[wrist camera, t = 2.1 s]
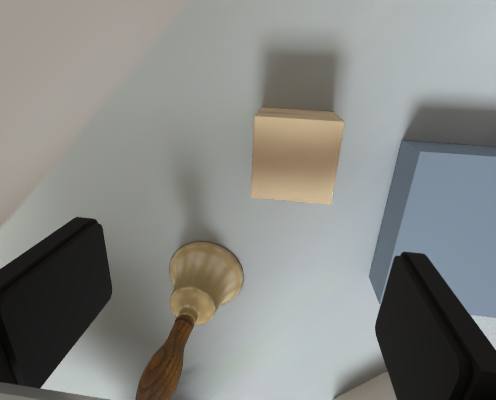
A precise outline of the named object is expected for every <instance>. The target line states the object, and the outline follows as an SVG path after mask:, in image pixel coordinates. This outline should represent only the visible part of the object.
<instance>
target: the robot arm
mask: <svg viewBox="0 0 496 400" xmlns="http://www.w3.org/2000/svg"><path fill="white" fill-rule="evenodd" d="M111 295H112V284H111V278H110V272H109V265H108V259H107V253H106V247H105V240H104V234H103V228H102V226H101V224H98V222H97V220H95V219H91V218H81V217H76V218H74V219H73V220H71V221H70V222H68V223H67V224H65V225H64V226H62V227H61V228H59V229H58V230H57V231H55V232H54V233H52V234H51V235H49V236H48V237H46V238H45V239H43V240H42V241H41V242H39V243H38V244H36V245H35V246H33V247H32V248H30V249H29V250H28V251H26V252H25V253H23V254H22V255H20V256H19V257H17V258H16V259H14V260H13V261H12V262H10V263H9V264H7V265H6V266H4V267H3V268H1V269H0V400H109V399H103V398H97V397H90V396H84V395H78V394H71V393H65V392H59V391H52V390H46V389H40V388H41V386H42V385H43V384H44V383H45V381H46V380H47V379H48V378H49V376H50V375H51V374H52V372H53V371H54V370H55V369H56V367H57V366H58V365H59V364H60V362H61V361H62V360H63V358H64V357H65V356H66V355H67V353H68V352H69V351H70V350H71V348H72V347H73V346H74V344H75V343H76V342H77V341H78V339H79V338H80V337H81V336H82V334H83V333H84V332H85V330H86V329H87V328H88V327H89V325H90V324H91V323H92V321H93V320H94V319H95V318H96V316H97V315H98V314H99V313H100V311H101V310H102V309H103V307H104V306H105V305H106V304H107V302H108V301H109V300H110V298H111ZM375 331H376V337H377V340H378V343H379V346H380V349H381V352H382V355H383V358H384V361H385V364H386V368H387V371H388V374H389V377H390V380H391V383H392V386H393V389H394V392H395V395H396V399H397V400H496V350H495V349H494V347H493V346H492V344H491V343H490V342H489V340H488V339H487V338H486V336H485V335H484V334H483V332H482V331H481V329H480V328H479V327H478V325H477V324H476V323H475V321H474V320H473V318H472V317H471V316H470V314H469V313H468V312H467V310H466V309H465V308H464V306H463V305H462V303H461V302H460V301H459V299H458V298H457V297H456V295H455V294H454V293H453V291H452V290H451V288H450V287H449V286H448V284H447V283H446V282H445V280H444V279H443V277H442V276H441V275H440V273H439V272H438V271H437V269H436V268H435V267H434V265H433V264H432V262H431V261H430V260H429V258H428V257H427V256H426V255H425V254H423V253H413V252H402V253H401V255H400V256H395V257H394V260H393V263H392V267H391V270H390V274H389V278H388V281H387V285H386V288H385V292H384V295H383V299H382V303H381V306H380V310H379V313H378V317H377V320H376V325H375Z"/></svg>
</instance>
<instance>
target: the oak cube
mask: <svg viewBox="0 0 496 400" xmlns="http://www.w3.org/2000/svg"><path fill="white" fill-rule="evenodd" d="M344 123H345V122H344V121H343V120H342V119H341V118H340V117H339V116H338V115H336V114H335V113H334V112H333V111H316V110H300V109H283V108H266V107H262V108H261V109H260V110H259V111H258V113H257V114H256V115H255V122H254V141H253V161H252V180H251V198H262V199H273V200H285V201H296V202H307V203H318V204H330V205H331V203H332V196H333V190H334V184H335V178H336V172H337V166H338V160H339V154H340V148H341V141H342V135H343V129H344Z"/></svg>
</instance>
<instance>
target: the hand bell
mask: <svg viewBox="0 0 496 400" xmlns="http://www.w3.org/2000/svg"><path fill="white" fill-rule="evenodd" d="M169 271H170V278H171V281H172V284H173V286H174V290H173V293H172V295H171V298H170V307H171V310H172V312H173V314H174V315H175V316H176V317H177V318H176V320H175V323H174V325H173V328H172V330H171V332H170V335H169V337H168V339H167V341H166V342H165V343H164V345H163V346H162V347H161V348H160V349H159V350H158V351H157V352H156V353H155V354H154V356H153V357H152V359H151V360H150V362H149V363H148V365H147V367H146V368H145V370H144V372H143V374H142V376H141V379H140V381H139V385H138V389H137V394H136V400H170V399H171V397H172V395H173V393H174V391H175V389H176V387H177V384H178V381H179V378H180V375H181V371H182V365H183V352H184V347H185V344H186V342H187V340H188V337H189V335H190V333H191V331H192V329H193V327H194V325H202V324H205V323H207V322H208V321H210V320H211V319H212V318H213V316H214V314H215V312H216V310H217V308H218V307H219V306H220V305H223V304H226V303H228V302H229V301H231V300H232V299H234V298H235V297H236V296H237V295H238V293H239V292H240V290H241V288H242V285H243V271H242V268H241V266H240V264H239V262H238V261H237V259H236V258H235V257H234V256H233V254H231V253H230V252H229V251H228V250H226V249H225V248H223V247H221V246H219V245H216V244H213V243H209V242H193V243H190V244H187V245H185V246H183V247H181V248H180V249H179V250H178V251H177V252H176V253H175V254H174V255H173V257H172V259H171V262H170V267H169Z"/></svg>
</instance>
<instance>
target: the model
mask: <svg viewBox="0 0 496 400" xmlns="http://www.w3.org/2000/svg"><path fill="white" fill-rule="evenodd" d="M333 400H397V399H396V395H395V392H394V389H393V386H392V383H391V380H390V377H389V374H388V371H386V372H384V373H382V374H380V375H378V376H377V377H375V378H373V379H371V380H369V381H367V382H365V383H363V384H361V385H359V386H357V387H355V388H354V389H352V390H350V391H348V392H346V393H344V394H342V395H340V396H338V397H336V398H334V399H333Z"/></svg>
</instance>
